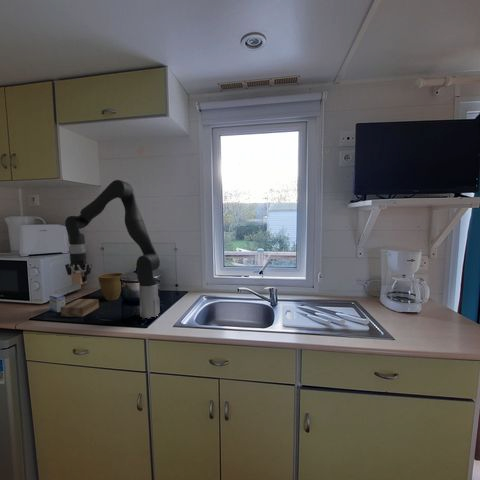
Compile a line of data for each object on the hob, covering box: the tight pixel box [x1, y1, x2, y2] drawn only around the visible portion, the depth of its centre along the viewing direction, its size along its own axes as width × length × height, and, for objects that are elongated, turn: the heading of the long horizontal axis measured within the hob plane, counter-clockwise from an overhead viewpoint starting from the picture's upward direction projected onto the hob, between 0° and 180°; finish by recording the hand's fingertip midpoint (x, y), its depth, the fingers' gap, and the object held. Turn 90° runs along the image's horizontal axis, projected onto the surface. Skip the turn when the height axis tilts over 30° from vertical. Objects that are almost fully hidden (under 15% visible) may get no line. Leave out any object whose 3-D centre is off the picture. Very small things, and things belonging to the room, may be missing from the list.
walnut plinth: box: [60, 298, 100, 318], centre depth 138 cm, size 12×14×5 cm
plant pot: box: [97, 272, 125, 301], centre depth 160 cm, size 15×15×16 cm
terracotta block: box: [70, 271, 88, 286], centre depth 136 cm, size 5×5×6 cm
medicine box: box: [49, 293, 66, 313], centre depth 140 cm, size 8×4×9 cm, turn 62°
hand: (79, 282), depth 137 cm, fingers closed on terracotta block, 5 cm apart
